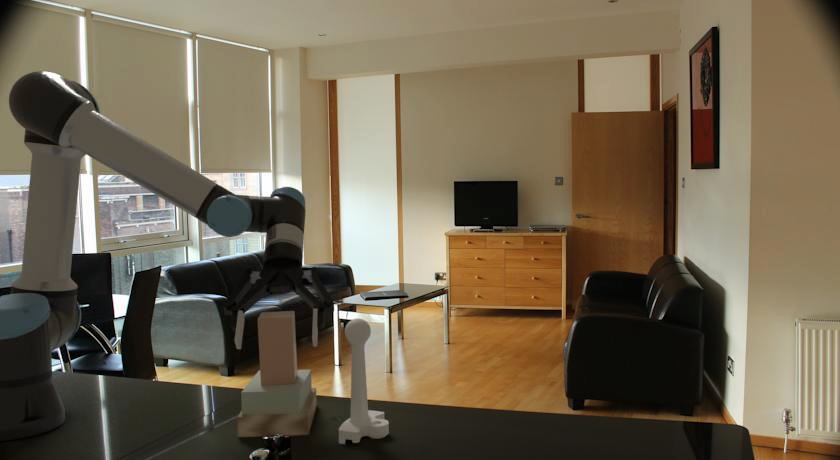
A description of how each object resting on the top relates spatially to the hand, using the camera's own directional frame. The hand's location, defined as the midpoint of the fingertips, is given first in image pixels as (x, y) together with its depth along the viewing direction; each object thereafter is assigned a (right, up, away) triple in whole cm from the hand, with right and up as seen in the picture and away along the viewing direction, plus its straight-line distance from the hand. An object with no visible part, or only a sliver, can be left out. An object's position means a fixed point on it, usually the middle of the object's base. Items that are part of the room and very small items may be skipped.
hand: (276, 344), depth 125 cm
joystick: (+17, -15, -4) cm, 23 cm away
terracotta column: (0, -7, +3) cm, 8 cm away
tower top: (0, -11, +3) cm, 11 cm away
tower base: (0, -15, +3) cm, 15 cm away
